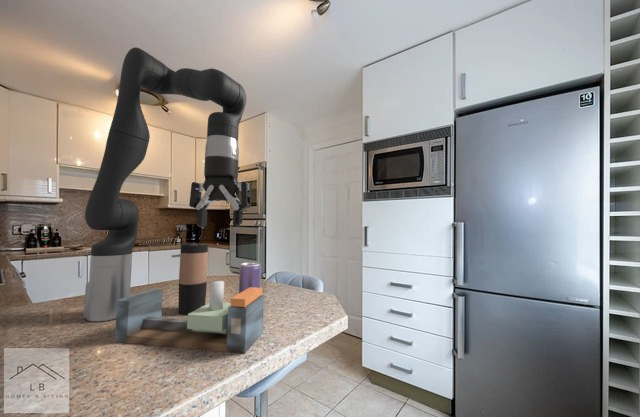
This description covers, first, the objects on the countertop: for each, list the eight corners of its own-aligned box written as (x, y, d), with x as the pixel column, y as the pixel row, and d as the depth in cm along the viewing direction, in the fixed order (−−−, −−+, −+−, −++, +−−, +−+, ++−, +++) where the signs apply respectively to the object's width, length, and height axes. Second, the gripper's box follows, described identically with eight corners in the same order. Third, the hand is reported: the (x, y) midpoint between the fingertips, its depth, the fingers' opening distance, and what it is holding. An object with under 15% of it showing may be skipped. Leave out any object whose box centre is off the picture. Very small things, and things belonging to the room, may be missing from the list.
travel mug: (176, 317, 72) (180, 245, 73) (177, 308, 78) (180, 243, 80) (206, 313, 75) (209, 244, 76) (205, 305, 82) (207, 242, 83)
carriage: (186, 334, 55) (188, 286, 55) (210, 318, 64) (212, 277, 64) (221, 337, 54) (223, 287, 54) (240, 321, 62) (242, 278, 63)
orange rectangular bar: (230, 306, 53) (230, 298, 54) (249, 293, 63) (249, 287, 63) (244, 307, 53) (245, 299, 53) (261, 294, 62) (262, 287, 63)
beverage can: (254, 322, 68) (255, 266, 69) (233, 320, 70) (235, 265, 71) (263, 314, 74) (264, 262, 75) (244, 313, 76) (246, 261, 76)
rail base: (113, 342, 56) (115, 300, 57) (150, 324, 66) (152, 288, 67) (244, 354, 52) (245, 309, 52) (262, 332, 62) (263, 295, 63)
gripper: (256, 161, 64) (254, 227, 63) (203, 162, 66) (201, 225, 65) (243, 153, 56) (240, 227, 55) (184, 154, 58) (180, 226, 57)
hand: (219, 226), depth 60 cm, fingers open, 8 cm apart
